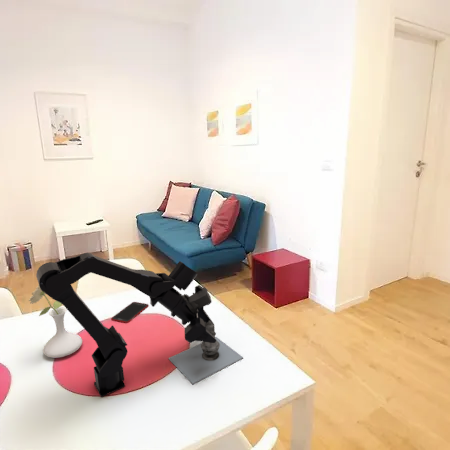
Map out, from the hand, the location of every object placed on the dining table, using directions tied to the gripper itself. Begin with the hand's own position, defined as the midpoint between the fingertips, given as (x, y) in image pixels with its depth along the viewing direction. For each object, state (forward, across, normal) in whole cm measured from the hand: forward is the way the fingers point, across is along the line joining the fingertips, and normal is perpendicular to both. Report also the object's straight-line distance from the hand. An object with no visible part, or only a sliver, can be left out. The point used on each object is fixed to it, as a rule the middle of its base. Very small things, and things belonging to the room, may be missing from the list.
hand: (214, 332), depth 100 cm
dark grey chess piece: (+5, 0, +6) cm, 8 cm away
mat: (+4, -1, +8) cm, 9 cm away
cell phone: (-15, +32, +27) cm, 45 cm away
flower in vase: (-28, +10, +40) cm, 50 cm away
